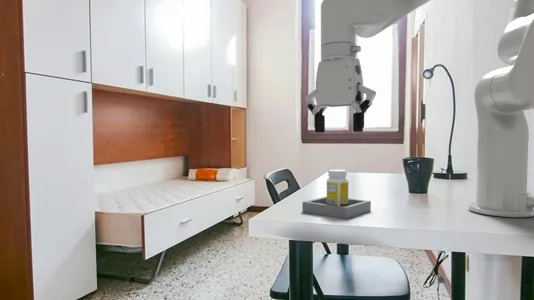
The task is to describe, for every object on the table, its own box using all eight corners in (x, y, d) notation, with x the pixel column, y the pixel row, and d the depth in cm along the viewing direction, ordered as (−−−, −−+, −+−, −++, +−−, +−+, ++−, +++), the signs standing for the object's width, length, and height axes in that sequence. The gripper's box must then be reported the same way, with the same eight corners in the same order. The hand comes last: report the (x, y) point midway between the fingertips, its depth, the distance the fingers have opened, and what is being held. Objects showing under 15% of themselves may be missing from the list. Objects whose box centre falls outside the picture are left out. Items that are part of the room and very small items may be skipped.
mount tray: (370, 210, 86) (370, 201, 86) (346, 218, 78) (346, 208, 78) (328, 204, 93) (328, 196, 93) (302, 211, 85) (302, 201, 85)
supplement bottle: (346, 205, 87) (347, 169, 87) (349, 210, 83) (349, 171, 82) (325, 205, 88) (326, 169, 88) (327, 209, 83) (327, 171, 83)
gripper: (382, 51, 81) (382, 131, 82) (314, 62, 93) (315, 132, 93) (366, 45, 76) (366, 131, 76) (296, 57, 87) (296, 132, 87)
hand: (338, 132), depth 85 cm, fingers open, 9 cm apart
